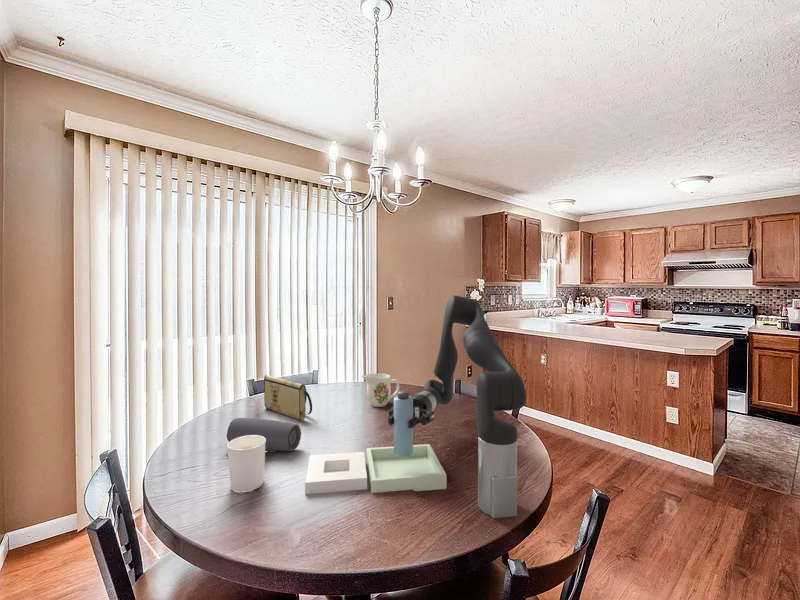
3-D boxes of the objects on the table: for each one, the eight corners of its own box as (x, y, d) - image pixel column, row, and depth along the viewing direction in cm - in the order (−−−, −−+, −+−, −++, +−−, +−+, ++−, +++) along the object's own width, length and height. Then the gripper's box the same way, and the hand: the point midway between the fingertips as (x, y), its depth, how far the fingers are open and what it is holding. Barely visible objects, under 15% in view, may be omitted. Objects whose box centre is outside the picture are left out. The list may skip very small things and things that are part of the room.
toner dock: (367, 491, 101) (367, 477, 101) (305, 496, 99) (304, 482, 99) (363, 463, 117) (363, 451, 117) (310, 467, 115) (310, 455, 114)
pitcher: (403, 405, 173) (403, 375, 173) (365, 410, 167) (365, 379, 166) (395, 399, 183) (395, 370, 183) (358, 403, 177) (358, 373, 176)
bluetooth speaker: (302, 447, 128) (302, 418, 128) (287, 460, 120) (286, 428, 119) (244, 440, 135) (243, 412, 134) (225, 451, 126) (225, 421, 125)
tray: (446, 488, 102) (446, 474, 102) (371, 495, 99) (371, 480, 99) (429, 455, 122) (429, 444, 122) (366, 460, 119) (366, 448, 119)
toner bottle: (414, 455, 109) (414, 394, 108) (395, 457, 108) (395, 395, 107) (411, 447, 114) (411, 389, 113) (392, 448, 113) (392, 390, 112)
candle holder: (254, 473, 111) (254, 432, 111) (273, 484, 105) (273, 440, 105) (221, 486, 104) (220, 443, 103) (239, 499, 97) (238, 453, 97)
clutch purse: (316, 418, 157) (316, 382, 156) (302, 423, 152) (302, 385, 151) (275, 404, 176) (274, 372, 175) (261, 408, 170) (260, 374, 170)
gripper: (401, 391, 126) (377, 407, 111) (442, 396, 120) (423, 414, 105) (401, 413, 126) (377, 432, 111) (442, 420, 121) (423, 440, 105)
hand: (399, 423), depth 108 cm, fingers closed on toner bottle, 5 cm apart
